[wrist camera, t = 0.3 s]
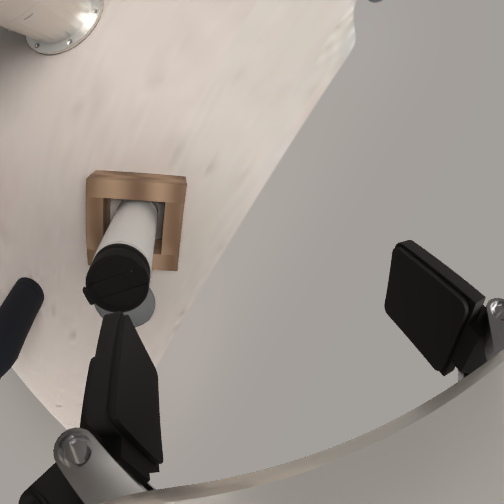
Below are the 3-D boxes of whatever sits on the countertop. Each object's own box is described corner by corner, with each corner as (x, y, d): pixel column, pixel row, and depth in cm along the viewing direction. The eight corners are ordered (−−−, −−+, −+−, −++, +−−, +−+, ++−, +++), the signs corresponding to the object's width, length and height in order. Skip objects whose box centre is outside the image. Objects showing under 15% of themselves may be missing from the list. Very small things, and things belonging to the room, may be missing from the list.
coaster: (97, 323, 49) (97, 325, 48) (92, 272, 44) (91, 273, 44) (154, 327, 52) (154, 329, 52) (155, 276, 48) (155, 278, 47)
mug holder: (95, 249, 43) (88, 264, 39) (95, 170, 38) (86, 178, 33) (176, 255, 47) (177, 271, 43) (185, 176, 42) (186, 185, 37)
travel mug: (110, 201, 40) (70, 270, 23) (151, 188, 41) (134, 250, 24) (123, 238, 43) (99, 323, 26) (163, 226, 44) (159, 307, 27)
